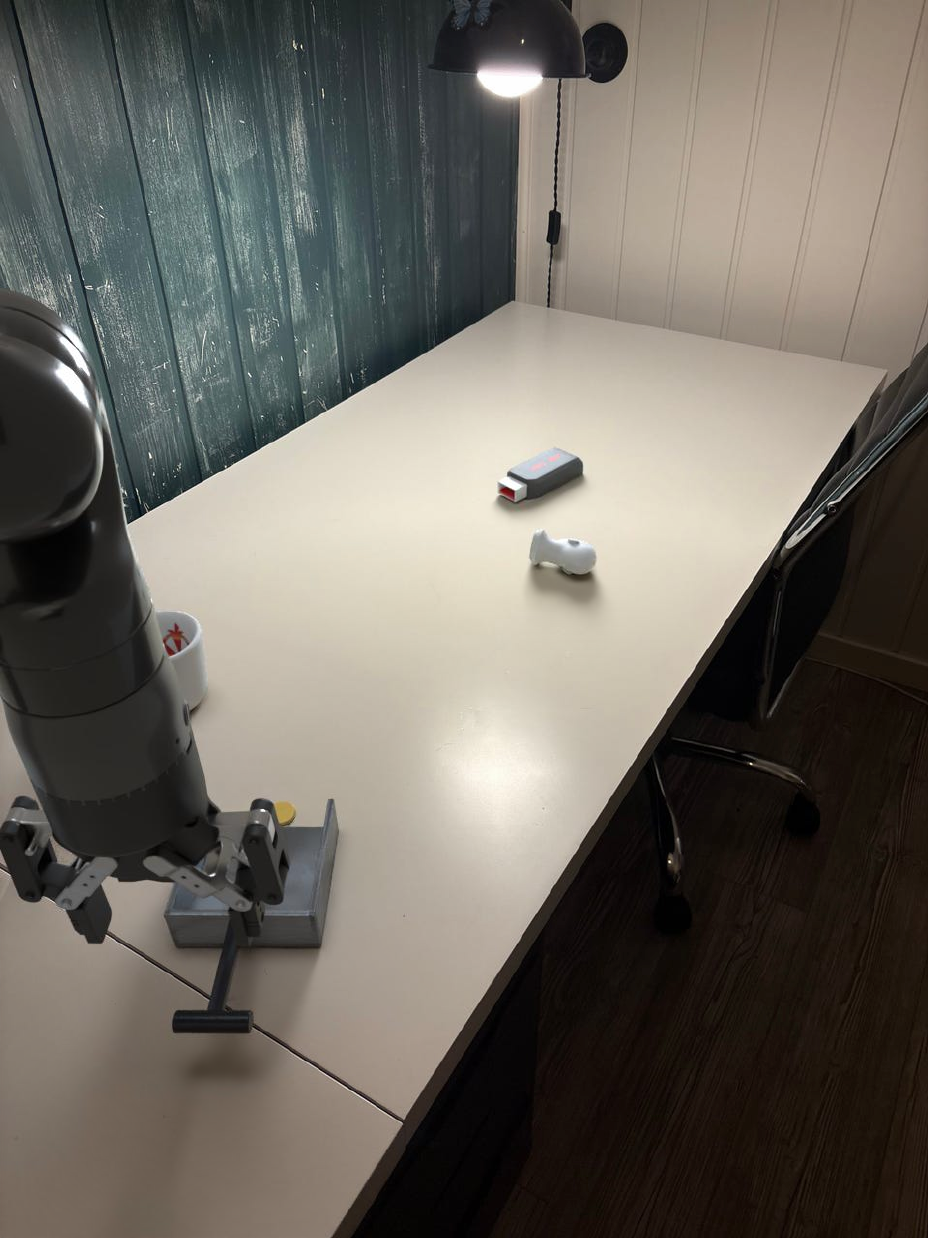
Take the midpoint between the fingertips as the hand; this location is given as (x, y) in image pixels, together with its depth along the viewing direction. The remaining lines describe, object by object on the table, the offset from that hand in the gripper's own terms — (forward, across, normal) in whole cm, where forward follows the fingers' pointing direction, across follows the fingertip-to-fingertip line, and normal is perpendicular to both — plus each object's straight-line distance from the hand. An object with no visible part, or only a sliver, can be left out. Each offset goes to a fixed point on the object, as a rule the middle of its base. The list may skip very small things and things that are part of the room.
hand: (175, 931), depth 53 cm
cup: (+15, -13, +36) cm, 41 cm away
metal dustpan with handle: (+15, 0, +9) cm, 17 cm away
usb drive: (+14, +26, +76) cm, 82 cm away
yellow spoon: (+14, -1, +20) cm, 25 cm away
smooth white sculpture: (+14, +28, +57) cm, 65 cm away
